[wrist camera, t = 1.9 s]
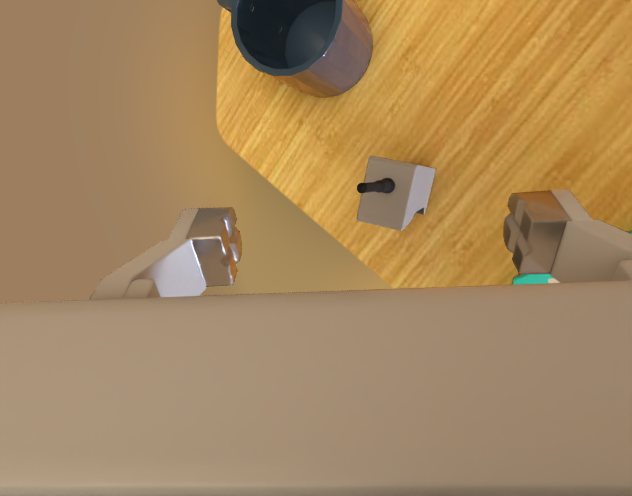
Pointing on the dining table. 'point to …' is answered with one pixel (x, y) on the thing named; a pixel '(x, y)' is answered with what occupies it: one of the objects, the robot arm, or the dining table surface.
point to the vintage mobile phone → (394, 192)
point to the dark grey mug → (304, 41)
